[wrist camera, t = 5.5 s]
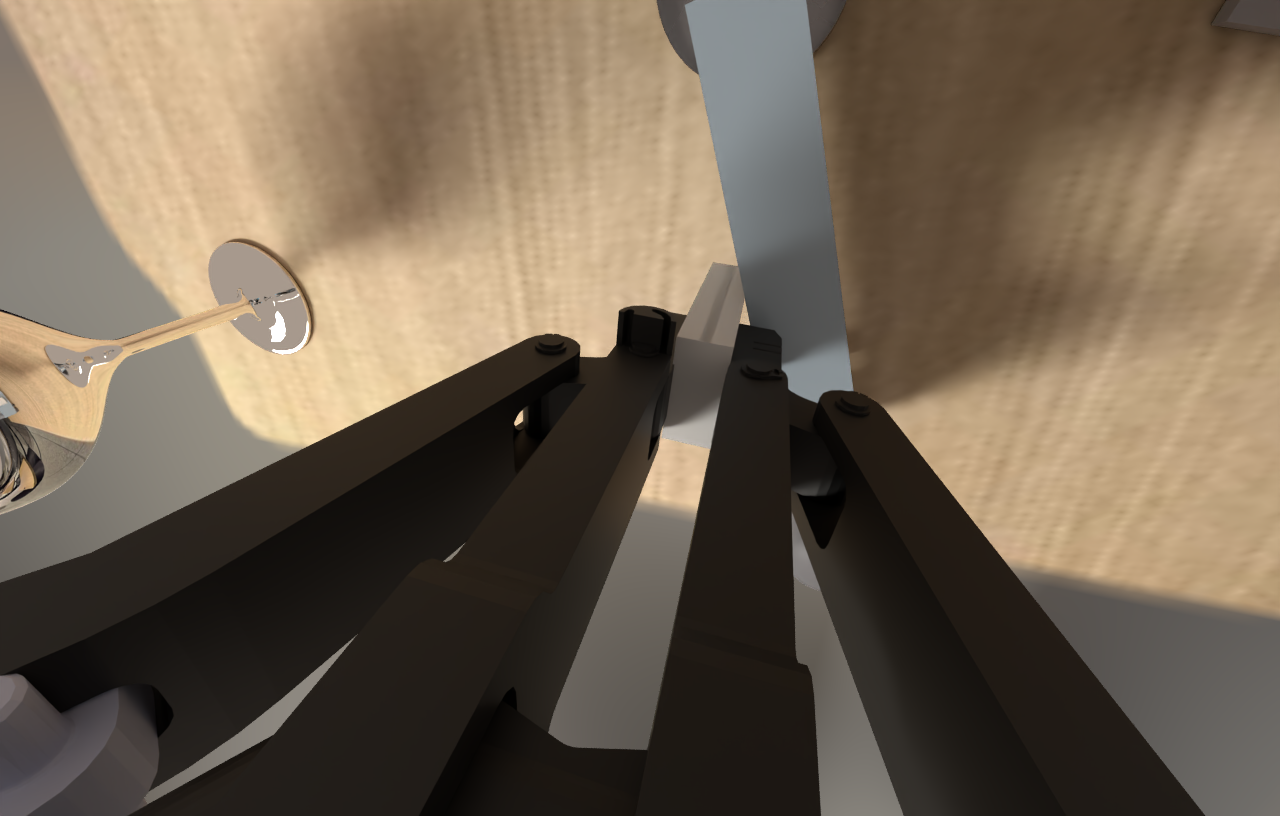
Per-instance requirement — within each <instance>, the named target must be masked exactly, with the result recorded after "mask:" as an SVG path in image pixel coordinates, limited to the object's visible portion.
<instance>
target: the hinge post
mask: <svg viewBox="0 0 1280 816" xmlns="http://www.w3.org/2000/svg"><path fill="white" fill-rule="evenodd" d="M692 1H695V0H657V5H658V10H659V14H660V18H661V21H662V24H663V27H664V30H665V33H666V35H667V37H668V39H669V41H670V43H671V45H672V46H673V48H674V50H675V51H676V53H677V54H678V55H679V57H680V58H681V59H682V60H683V61H684V63H685V64H686V65H687V66H689V67H690V68H691V69H692V70H693V71H694V72H696V73H697V74H699V72H698V67H697V62H696V57H695V52H694V47H693V43H692V38H691V33H690V28H689V23H688V18H687V13H686V8H685V5H686V4H688V3H690V2H692ZM806 3H807V11H808V19H809V28H810V36H811V44H812V52H813V54H814V53H815V52H816V51H817V49H818V48H819V47H820V46H821V45H822V43H823V42H824V41H825V39H826V38H827V37H828V35H829V34H830V32H831V30H832V29H833V27H834V26H835V24H836V22H837V20H838V18H839V16H840V14H841V12H842V10H843V8H844V6H845V3H846V0H806Z"/></svg>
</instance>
